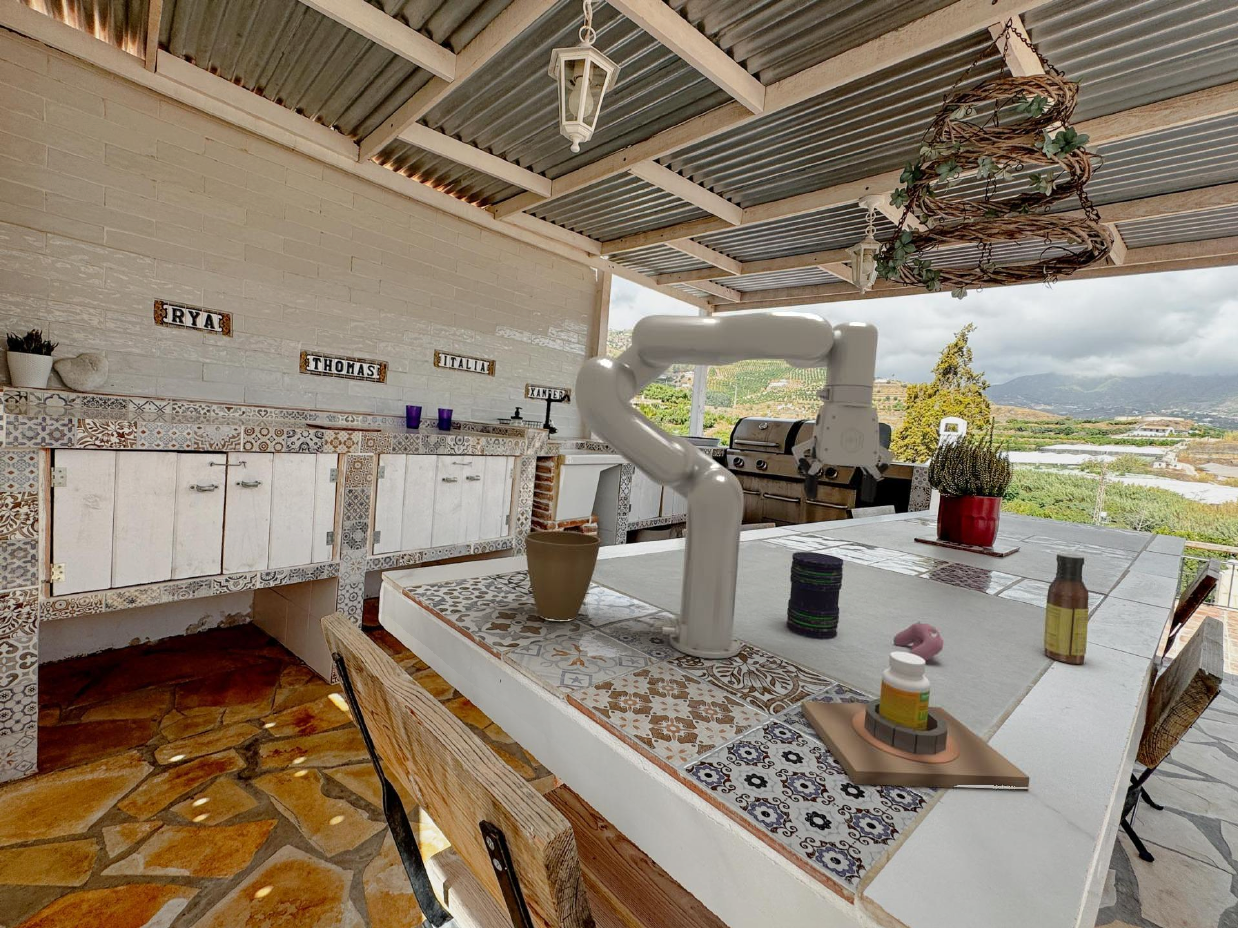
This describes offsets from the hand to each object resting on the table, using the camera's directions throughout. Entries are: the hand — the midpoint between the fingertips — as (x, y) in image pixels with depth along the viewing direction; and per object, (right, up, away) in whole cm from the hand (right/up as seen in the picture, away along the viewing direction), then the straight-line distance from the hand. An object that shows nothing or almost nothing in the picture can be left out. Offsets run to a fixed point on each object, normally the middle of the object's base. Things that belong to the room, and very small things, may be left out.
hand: (839, 499), depth 95 cm
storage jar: (+1, -28, +18) cm, 33 cm away
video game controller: (+18, -29, +8) cm, 35 cm away
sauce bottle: (+47, -31, +11) cm, 57 cm away
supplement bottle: (-2, -28, -24) cm, 37 cm away
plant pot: (-49, -25, +16) cm, 58 cm away
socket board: (-2, -30, -24) cm, 38 cm away
